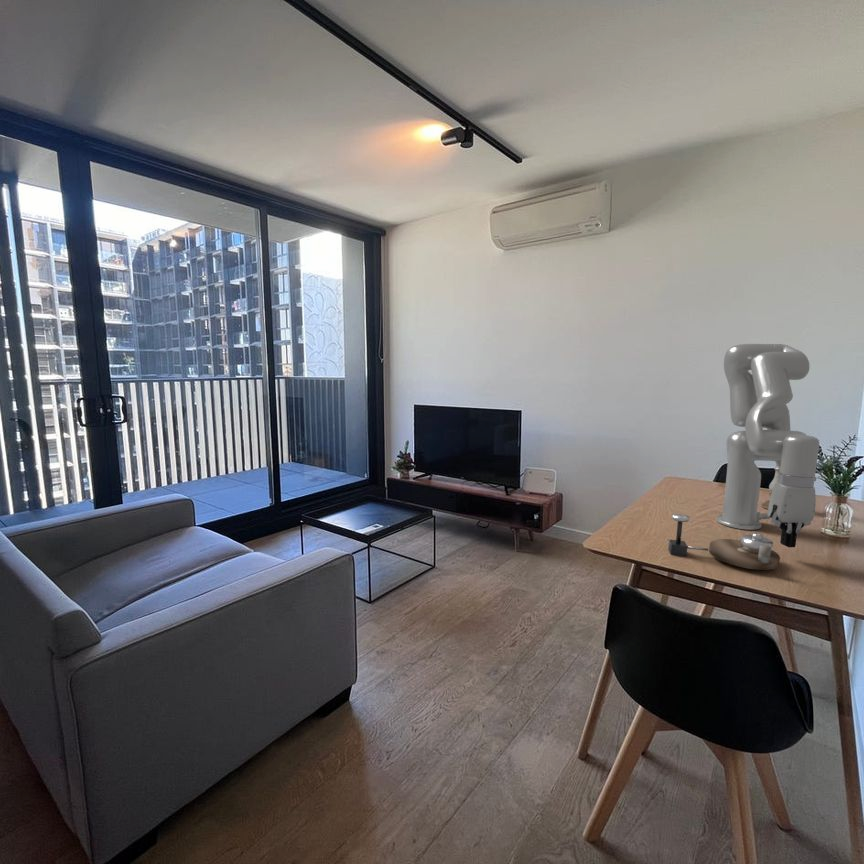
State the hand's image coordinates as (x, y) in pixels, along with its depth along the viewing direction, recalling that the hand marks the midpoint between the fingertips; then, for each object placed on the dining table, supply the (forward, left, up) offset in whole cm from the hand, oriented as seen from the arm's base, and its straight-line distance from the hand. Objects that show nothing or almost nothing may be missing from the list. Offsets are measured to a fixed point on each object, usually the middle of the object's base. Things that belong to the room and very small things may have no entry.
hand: (787, 545), depth 127 cm
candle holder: (-33, -43, -4) cm, 55 cm away
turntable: (+13, 0, -3) cm, 13 cm away
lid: (+9, 0, -1) cm, 9 cm away
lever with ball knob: (+25, -5, -4) cm, 26 cm away
